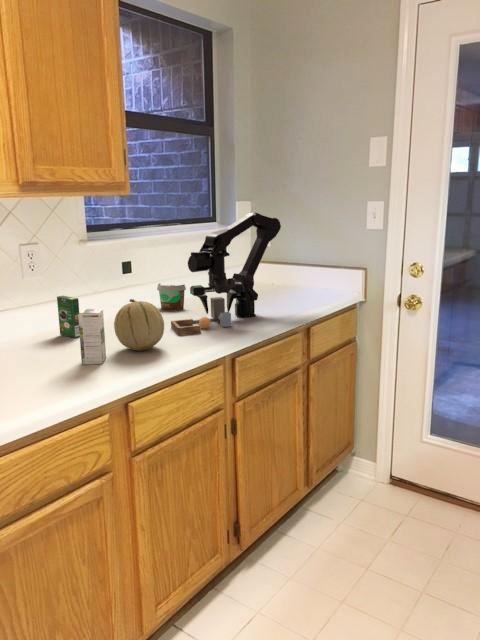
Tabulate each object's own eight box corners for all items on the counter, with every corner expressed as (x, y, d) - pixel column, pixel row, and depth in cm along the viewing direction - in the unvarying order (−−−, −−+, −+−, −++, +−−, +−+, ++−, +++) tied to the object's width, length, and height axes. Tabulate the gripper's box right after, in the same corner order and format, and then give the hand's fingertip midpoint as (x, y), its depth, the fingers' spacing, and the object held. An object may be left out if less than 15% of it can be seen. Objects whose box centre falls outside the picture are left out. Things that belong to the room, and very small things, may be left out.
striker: (221, 318, 195) (221, 296, 193) (232, 325, 184) (232, 303, 182) (211, 319, 194) (210, 297, 192) (221, 327, 182) (220, 304, 180)
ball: (208, 326, 184) (208, 315, 184) (212, 329, 181) (211, 317, 180) (197, 327, 183) (197, 316, 182) (200, 330, 180) (200, 318, 179)
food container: (152, 310, 213) (150, 285, 211) (160, 307, 219) (158, 283, 216) (179, 312, 209) (178, 286, 206) (186, 308, 214) (185, 284, 212)
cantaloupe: (150, 358, 149) (147, 306, 146) (105, 354, 154) (101, 303, 151) (174, 344, 163) (172, 296, 159) (132, 341, 168) (129, 294, 164)
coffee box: (82, 336, 174) (79, 297, 171) (75, 338, 172) (71, 298, 169) (67, 333, 179) (63, 295, 176) (59, 335, 177) (55, 296, 174)
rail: (224, 319, 194) (224, 317, 194) (225, 320, 193) (225, 317, 193) (183, 323, 189) (183, 321, 189) (184, 324, 188) (184, 321, 188)
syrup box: (85, 359, 150) (81, 308, 147) (107, 358, 151) (103, 307, 147) (81, 365, 145) (76, 313, 141) (103, 364, 145) (99, 312, 142)
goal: (192, 325, 186) (192, 318, 186) (200, 333, 176) (200, 325, 175) (171, 327, 184) (170, 320, 183) (178, 335, 174) (178, 327, 173)
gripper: (196, 274, 178) (198, 319, 182) (249, 270, 184) (250, 314, 188) (188, 270, 188) (190, 313, 192) (238, 266, 194) (239, 308, 198)
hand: (217, 312), depth 192 cm, fingers open, 8 cm apart
